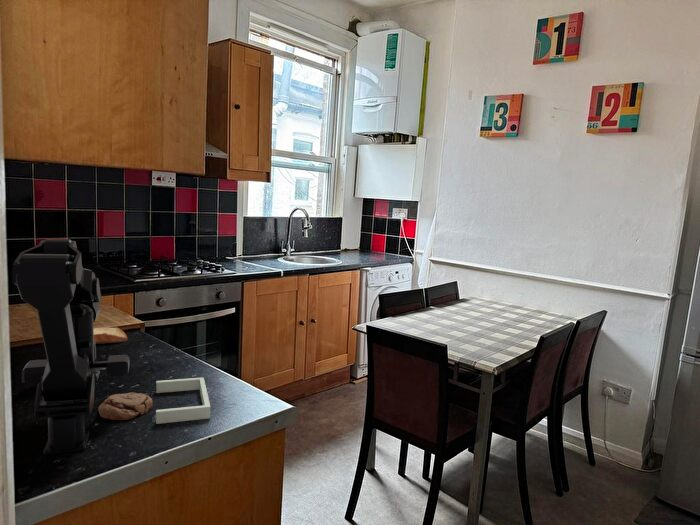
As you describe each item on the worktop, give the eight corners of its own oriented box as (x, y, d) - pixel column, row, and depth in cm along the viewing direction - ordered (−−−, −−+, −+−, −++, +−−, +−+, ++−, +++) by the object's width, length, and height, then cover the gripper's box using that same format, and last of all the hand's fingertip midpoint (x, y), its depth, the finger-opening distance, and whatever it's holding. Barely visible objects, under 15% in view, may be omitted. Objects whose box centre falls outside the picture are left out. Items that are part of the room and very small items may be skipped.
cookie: (162, 409, 107) (162, 396, 107) (114, 426, 99) (114, 412, 98) (135, 396, 113) (135, 384, 113) (88, 412, 105) (88, 398, 104)
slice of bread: (43, 340, 149) (43, 328, 149) (103, 329, 164) (103, 318, 163) (72, 354, 139) (71, 341, 138) (133, 341, 153) (133, 329, 152)
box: (210, 418, 104) (210, 406, 104) (156, 423, 100) (156, 412, 100) (203, 387, 120) (203, 377, 119) (156, 391, 116) (156, 381, 116)
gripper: (130, 322, 111) (130, 389, 114) (32, 326, 105) (35, 397, 107) (127, 336, 101) (128, 409, 103) (19, 341, 94) (22, 420, 97)
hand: (79, 408), depth 103 cm, fingers closed
